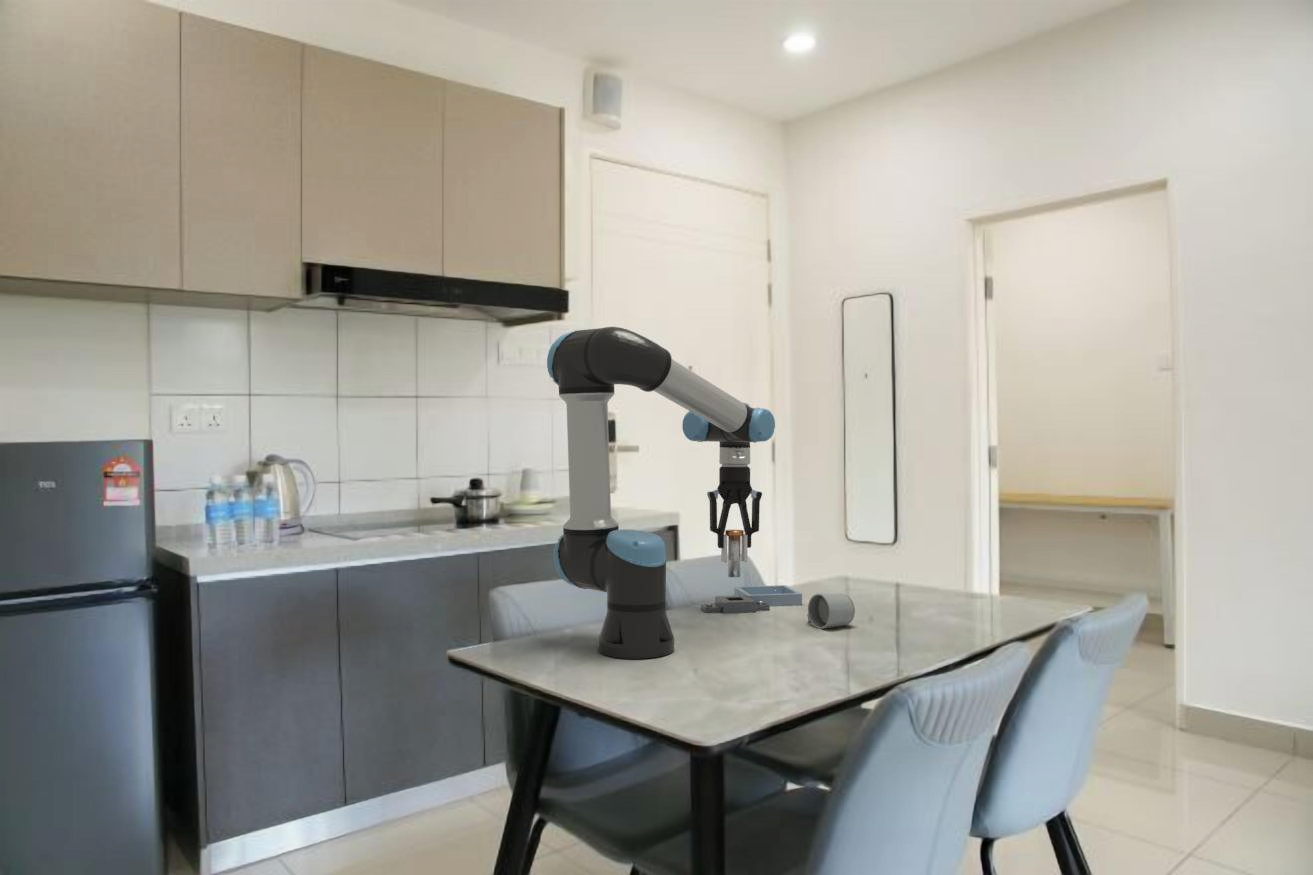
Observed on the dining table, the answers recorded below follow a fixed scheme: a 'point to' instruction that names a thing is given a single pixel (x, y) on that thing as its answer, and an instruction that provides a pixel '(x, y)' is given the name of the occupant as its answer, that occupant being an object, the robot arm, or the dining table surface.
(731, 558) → the pin
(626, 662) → the dining table surface
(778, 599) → the tray
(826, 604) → the ceramic mug
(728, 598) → the grey holder base
